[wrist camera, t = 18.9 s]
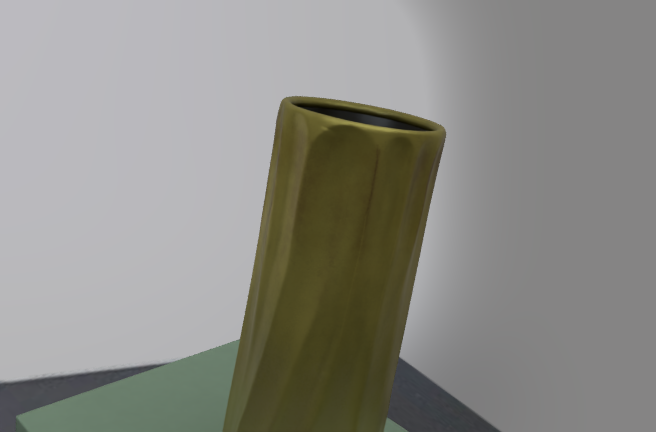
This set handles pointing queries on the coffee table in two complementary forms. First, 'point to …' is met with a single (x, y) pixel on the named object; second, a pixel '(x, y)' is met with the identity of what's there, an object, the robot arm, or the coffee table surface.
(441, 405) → the coffee table surface
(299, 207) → the vase
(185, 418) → the book stack
